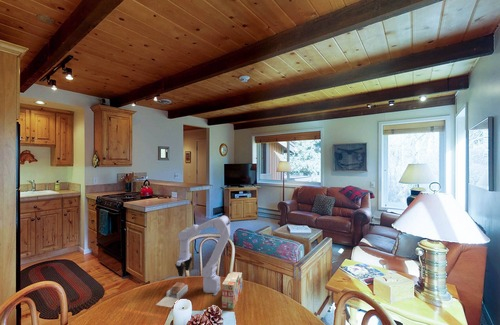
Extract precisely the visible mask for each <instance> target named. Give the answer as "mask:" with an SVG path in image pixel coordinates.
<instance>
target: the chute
mask: <svg viewBox="0 0 500 325" xmlns="http://www.w3.org/2000/svg"><path fill="white" fill-rule="evenodd" d="M188 286H189V285H188V284H184V287H183V288H182V289H181V290H180V291H179V292H178V293H177V294H172V287H170V288H169V289H168V290H167V291H166V295H165V296H163V298H162V299H160V301H158V302H157V303H156V304H155V305H156V306H160V307H166V308H167V307H168V308H173V307H174V305H175V304H176V303H177V302H178V301H179V300H180V299H181V298H182V297H184V295H185V294H186V293H187V292H188V291H189V290H190V289H188V288H189V287H188ZM177 300H178V301H177ZM176 301H177V302H176ZM175 302H176V303H175ZM174 303H175V304H174Z"/></svg>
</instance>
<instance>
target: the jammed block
mask: <svg viewBox="0 0 500 325" xmlns="http://www.w3.org/2000/svg"><path fill="white" fill-rule="evenodd" d="M184 286H185V283H184V282H179V281H177V282H175V284H174V285H172V287H171V288H172V294H177V293H178V292H179V291H180V290H181V289H182V288H183V287H184Z"/></svg>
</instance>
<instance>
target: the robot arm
mask: <svg viewBox="0 0 500 325" xmlns="http://www.w3.org/2000/svg"><path fill="white" fill-rule="evenodd" d="M211 227H212V228H215V229H216V230H217V231H218V233H219V234H220V235H219V238H218V240H217V242H216V245H215V246H214V249H213V251H212V253H211V256H210V258H209V260H208V261H207V262H206V264H205V266H204V267H203V268H202V269H201V275H202V277H203V278H202V280H203V281H202V283H203V284H202V285H203V286H202V289H203V290H202V291H203V293H207V294H209V293H212V296H217V295H218V293H219V292H220V291H221V290H222V287H221V276H219V275H217V272H216V271H217V270H218V264H219V260H220V258H221V256H222V254H223V251H224V249H225V247H226V245H227V244H228V241H229V239H230V237H231V221H230V218H229V217H228V216H227V215H220V216H218V217H214V218H212V219H209V220H207V221H206V222H203V223H201V224H192V225H191V226H189V227H185V228H184V229H183V230H181V231H179V232H178V234H177V238H178V240H179V256H178V257H177V259H178V260H177V261H176V263H175V264H174V265H175V268H176V270H177V274H178V276H179V277H183V276H184V272H185V271H190V267H191V262H192V261H193V257H192V253H191V252H190V244H191V243H190V239H191V238H193V237H195V236H197V235H200V234H201V232H202V231H203V230H206V229H208V228H211ZM183 263H184V264H183Z"/></svg>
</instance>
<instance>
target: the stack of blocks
mask: <svg viewBox="0 0 500 325" xmlns="http://www.w3.org/2000/svg"><path fill="white" fill-rule="evenodd" d="M242 290H243V272H237V271H232V272H231V273H228V274H227V275H226V277H225V279H224V280H223V282H222V284H221V309H229V310H234V309H235V306H236V304H237V303H238V300H239V297H240V295H241V293H242Z"/></svg>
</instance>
